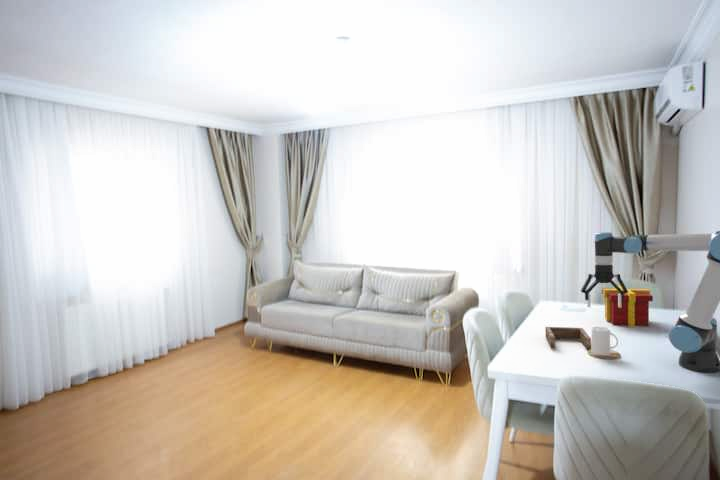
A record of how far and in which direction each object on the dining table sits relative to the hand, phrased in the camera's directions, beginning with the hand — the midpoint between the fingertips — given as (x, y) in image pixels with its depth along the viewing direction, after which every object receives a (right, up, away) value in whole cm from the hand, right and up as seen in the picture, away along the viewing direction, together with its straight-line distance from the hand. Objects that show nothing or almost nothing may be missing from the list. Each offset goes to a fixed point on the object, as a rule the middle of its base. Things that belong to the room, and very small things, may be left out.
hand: (604, 307), depth 217 cm
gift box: (+46, -18, +58) cm, 77 cm away
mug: (+1, -23, +1) cm, 23 cm away
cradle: (-8, -23, +21) cm, 32 cm away
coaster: (+1, -24, +2) cm, 24 cm away
